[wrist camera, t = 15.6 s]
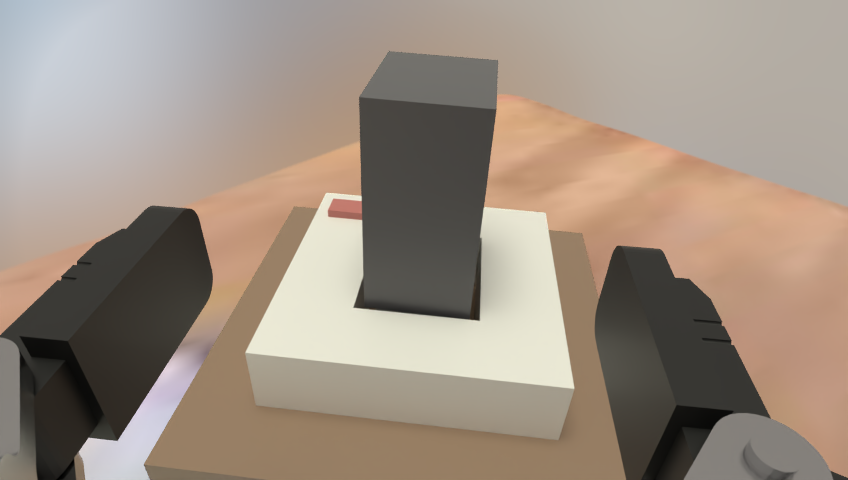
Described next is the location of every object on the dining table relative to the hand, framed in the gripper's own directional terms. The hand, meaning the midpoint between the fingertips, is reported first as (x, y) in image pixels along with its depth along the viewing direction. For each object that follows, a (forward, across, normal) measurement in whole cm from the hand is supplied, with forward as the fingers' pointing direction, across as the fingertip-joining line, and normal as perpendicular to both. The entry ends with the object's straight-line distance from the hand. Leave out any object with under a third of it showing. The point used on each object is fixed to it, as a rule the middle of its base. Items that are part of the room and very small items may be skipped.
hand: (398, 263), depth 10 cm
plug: (+11, 0, +12) cm, 16 cm away
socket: (+11, 0, +13) cm, 17 cm away
